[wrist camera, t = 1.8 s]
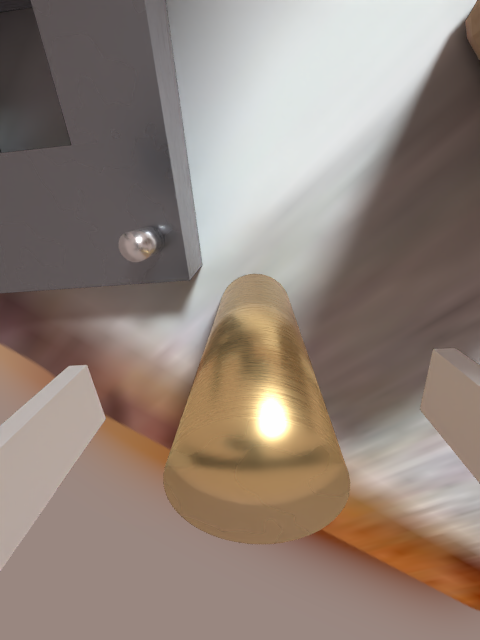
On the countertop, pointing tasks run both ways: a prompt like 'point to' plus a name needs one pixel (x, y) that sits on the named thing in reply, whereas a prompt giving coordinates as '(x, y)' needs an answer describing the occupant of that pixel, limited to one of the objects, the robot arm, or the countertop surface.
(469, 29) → the wooden block
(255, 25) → the countertop surface
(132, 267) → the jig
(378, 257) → the countertop surface
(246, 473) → the brass cylinder
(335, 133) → the countertop surface
